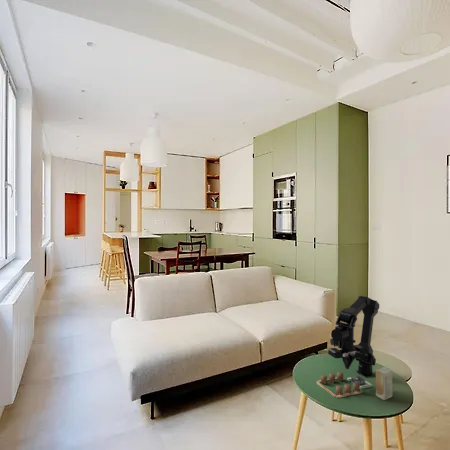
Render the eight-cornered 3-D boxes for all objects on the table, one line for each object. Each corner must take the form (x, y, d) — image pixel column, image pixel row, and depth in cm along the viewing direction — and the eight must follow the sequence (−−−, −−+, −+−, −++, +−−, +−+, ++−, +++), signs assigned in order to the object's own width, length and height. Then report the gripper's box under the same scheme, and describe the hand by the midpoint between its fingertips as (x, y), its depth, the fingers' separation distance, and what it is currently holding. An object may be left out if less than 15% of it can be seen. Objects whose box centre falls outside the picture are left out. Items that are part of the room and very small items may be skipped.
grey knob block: (358, 381, 151) (358, 375, 151) (365, 386, 146) (365, 379, 146) (351, 383, 149) (351, 376, 149) (357, 387, 145) (357, 380, 145)
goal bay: (357, 377, 154) (357, 376, 154) (371, 386, 146) (371, 384, 146) (347, 380, 152) (347, 378, 152) (360, 389, 143) (360, 386, 143)
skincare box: (383, 392, 141) (384, 366, 141) (392, 397, 137) (392, 370, 137) (375, 395, 138) (375, 369, 138) (383, 400, 134) (383, 373, 134)
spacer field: (340, 377, 154) (340, 370, 154) (362, 392, 140) (362, 385, 140) (315, 382, 149) (315, 375, 149) (335, 398, 135) (336, 390, 135)
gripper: (350, 329, 157) (350, 359, 157) (321, 333, 151) (320, 364, 151) (367, 337, 147) (366, 368, 147) (336, 341, 141) (335, 374, 140)
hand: (347, 368), depth 146 cm, fingers closed
